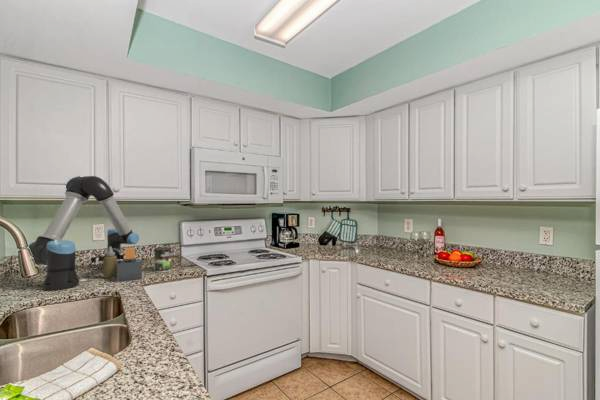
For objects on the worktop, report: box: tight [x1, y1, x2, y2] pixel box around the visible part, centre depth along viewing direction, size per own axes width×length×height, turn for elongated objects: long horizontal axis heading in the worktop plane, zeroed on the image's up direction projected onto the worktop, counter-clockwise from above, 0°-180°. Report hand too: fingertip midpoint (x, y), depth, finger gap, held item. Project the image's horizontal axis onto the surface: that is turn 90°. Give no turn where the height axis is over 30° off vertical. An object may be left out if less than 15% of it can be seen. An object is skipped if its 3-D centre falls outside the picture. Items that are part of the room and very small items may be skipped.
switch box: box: [116, 258, 143, 283], centre depth 172 cm, size 12×8×10 cm, turn 118°
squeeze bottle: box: [101, 246, 118, 280], centre depth 175 cm, size 8×8×18 cm
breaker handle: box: [123, 247, 137, 261], centre depth 174 cm, size 6×4×7 cm, turn 118°
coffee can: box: [153, 246, 173, 273], centre depth 192 cm, size 10×10×14 cm
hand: (110, 260), depth 174 cm, fingers open, 13 cm apart
